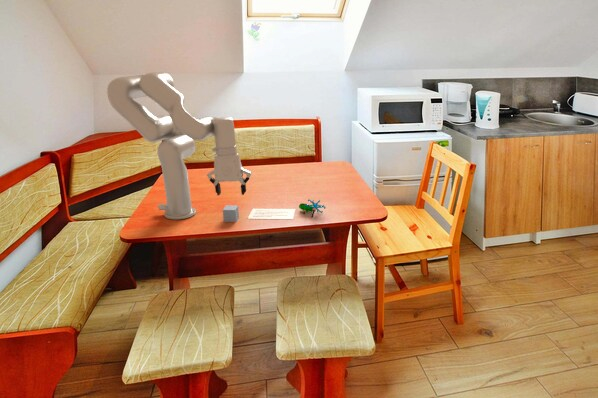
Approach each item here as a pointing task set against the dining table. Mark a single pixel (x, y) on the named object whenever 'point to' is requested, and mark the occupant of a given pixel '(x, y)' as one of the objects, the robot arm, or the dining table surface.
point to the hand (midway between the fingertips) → (231, 194)
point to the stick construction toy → (311, 207)
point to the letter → (272, 214)
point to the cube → (230, 213)
